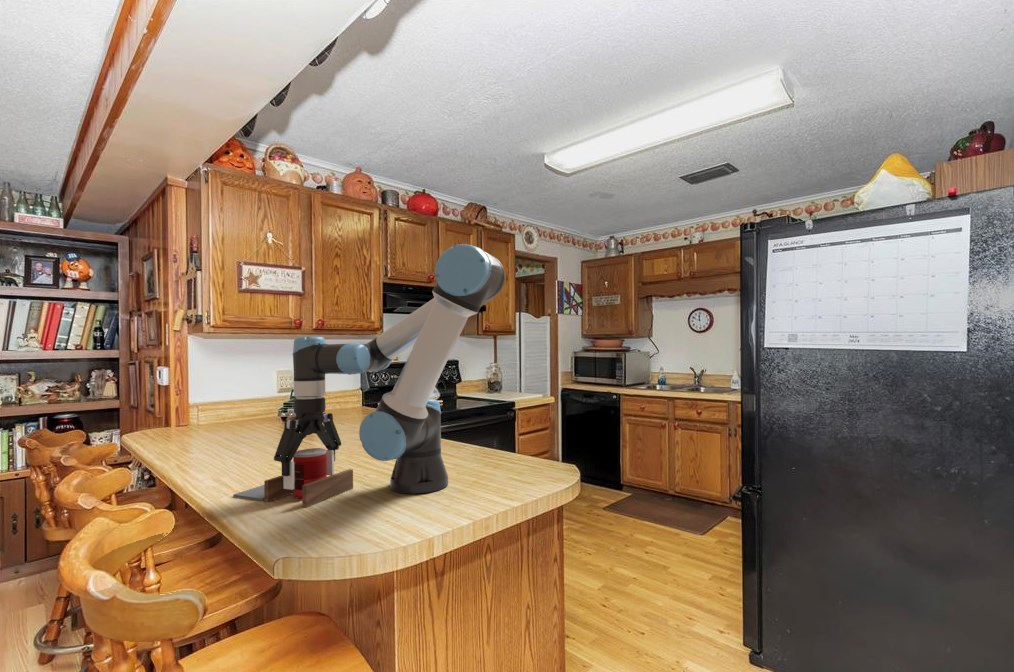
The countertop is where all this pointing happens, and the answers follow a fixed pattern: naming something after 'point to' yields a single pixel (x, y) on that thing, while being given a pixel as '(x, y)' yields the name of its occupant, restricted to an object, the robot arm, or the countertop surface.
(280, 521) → the countertop surface
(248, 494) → the slate mat
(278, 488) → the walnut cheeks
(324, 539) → the countertop surface
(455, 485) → the countertop surface
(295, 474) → the canned food
